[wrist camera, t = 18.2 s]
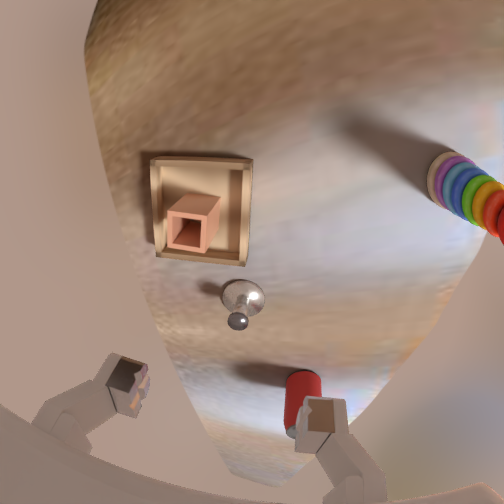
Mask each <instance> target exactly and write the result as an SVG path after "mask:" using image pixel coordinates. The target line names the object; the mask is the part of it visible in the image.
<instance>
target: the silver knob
mask: <svg viewBox="0 0 504 504" xmlns="http://www.w3.org/2000/svg"><path fill="white" fill-rule="evenodd" d="M223 303H224V305H225V307H226V308H227V309H228V310H229V311H230V312H232V314H230V316H229V318H228V325H229V326H230V327H231V328H232V329H234V330H244V329H245V328H247V326H248V318H247V317H249V316H253V315H256V314H257V313H259V312H260V311H261V310H262V308H263V307H264V303H265V295H264V293H263V291H262V289H261V288H260V287H259V286H258V285H256V284H255V283H253V282H251V281H247V280H237V281H234V282H232V283H230V284H229V285H228V286H227V287H226V288H225V290H224V293H223Z"/></svg>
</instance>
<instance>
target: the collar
mask: <svg viewBox="0 0 504 504" xmlns="http://www.w3.org/2000/svg"><path fill="white" fill-rule="evenodd" d="M220 201H221V197H215V196H207V195H200V194H192V193H186V194H185V195H184V196H183V197H182V198H181V199H180V200H178V201H177V202H176V203H175V204H174V205H173V206H172V207H171V208H170V209H169V210H167V247H169V248H175V249H181V250H187V251H193V252H199V253H206V251H207V249H208V247H209V245H210V244H211V242H212V240H213V238H214V236H215V235H216V233H217V231H218V226H219V214H220ZM190 219H196V220H201V223H197V222H190Z"/></svg>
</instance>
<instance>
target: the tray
mask: <svg viewBox="0 0 504 504" xmlns="http://www.w3.org/2000/svg"><path fill="white" fill-rule="evenodd" d="M252 173H253V160H252V159H237V158H218V157H191V156H158V157H156V158H153V159H151V160H150V180H151V199H152V214H153V228H154V239H155V250H156V257H162V258H170V259H179V260H188V261H197V262H206V263H215V264H224V265H233V266H242V267H245V265H246V262H247V258H248V248H249V229H250V210H251V191H252ZM186 193H192V194H200V195H207V196H215V197H221V201H220V214H219V226H218V231H217V233H216V235H215V236H214V238H213V240H212V242H211V244H210V245H209V247H208V249H207V251H206V253H199V252H193V251H187V250H181V249H175V248H169V247H167V210H169V209H170V208H171V207H172V206H173V205H174V204H175V203H176V202H177V201H178V200H180V199H181V198H182V197H183V196H184V195H185V194H186ZM190 222H197V223H201V220H196V219H190Z"/></svg>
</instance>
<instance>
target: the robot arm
mask: <svg viewBox="0 0 504 504" xmlns="http://www.w3.org/2000/svg"><path fill="white" fill-rule="evenodd" d="M147 371H148V366H147V364H145V363H142V362H139V361H136V360H133V359H130V358H127V357H124V356H121V355H118V354H115V353H111V354H110V355H108V357H107V359H106V360H105V362H104V363H103V365H102V367H101V368H100V370H99V371H98V373H97V375H96V376H95V378H94V380H93V381H92V380H88V381H86V382H84V383H82V384H80V385H78V386H76V387H74V388H72V389H70V390H68V391H66V392H64V393H62V394H59V395H57V396H55V397H53V398H51V399H49V400H47V401H45V403H44V404H43V406H42V407H41V409H40V410H39V412H38V414H37V415H36V417H35V418H34V420H33V421H32V423H31V424H30V423H29V422H27V421H25V420H24V419H22V418H21V417H19V416H17V415H16V414H14V413H13V412H11V411H10V410H8V409H7V408H5V407H4V406H3V405H1V404H0V504H282V503H270V502H261V501H253V500H246V499H239V498H233V497H227V496H221V495H216V494H211V493H206V492H201V491H197V490H193V489H188V488H185V487H181V486H177V485H173V484H170V483H166V482H163V481H159V480H156V479H152V478H150V477H146V476H143V475H140V474H137V473H135V472H132V471H129V470H126V469H123V468H121V467H118V466H116V465H113V464H111V463H108V462H106V461H103V460H101V459H99V458H96V457H94V456H92V455H89V454H90V451H91V449H92V445H91V444H90V442H89V440H88V439H87V437H86V434H88V433H89V432H91V431H92V430H94V429H95V428H97V427H98V426H100V425H101V424H103V423H104V422H106V421H107V420H108V419H110V418H111V417H113V416H114V415H116V414H117V413H120V414H123V415H126V416H129V417H133V418H137V416H138V413H139V411H140V409H141V407H142V405H141V401H140V400H142V399H144V398H145V397H146V395H147V393H148V390H149V386H150V378H149V376H148V375H147ZM296 430H297V431H298V434H297V436H296V438H295V452H299V453H309V454H316V457H317V458H318V460H319V462H320V464H321V465H322V467H323V469H324V470H325V472H326V474H327V475H328V477H329V479H330V480H331V482H332V484H333V485H334V487H335V488H334V489H333V490H331V491H330V492H329V493H328V494H326V495H325V496H324V497H323V504H504V499H503V498H502V497H501V496H500V495H498V494H497V493H496V492H495V491H494V490H493V489H492V488H491V487H489V486H488V485H486V484H485V483H477V484H472V485H469V486H466V487H462V488H458V489H455V490H451V491H446V492H442V493H437V494H432V495H427V496H422V497H416V498H411V499H404V500H397V501H389V502H387V491H386V481H385V474H384V472H383V471H382V470H381V469H380V467H379V466H378V465H377V464H376V463H375V462H374V460H373V459H372V458H371V457H370V455H369V454H368V453H367V452H366V450H365V449H364V448H363V447H362V446H361V444H360V443H359V442H358V441H357V439H356V438H355V437H354V436H353V434H349V431H348V420H347V410H346V401H345V400H344V399H335V398H327V397H315V396H306V397H305V398H304V400H303V406H302V407H300V409H299V411H298V415H297V419H296Z"/></svg>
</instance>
